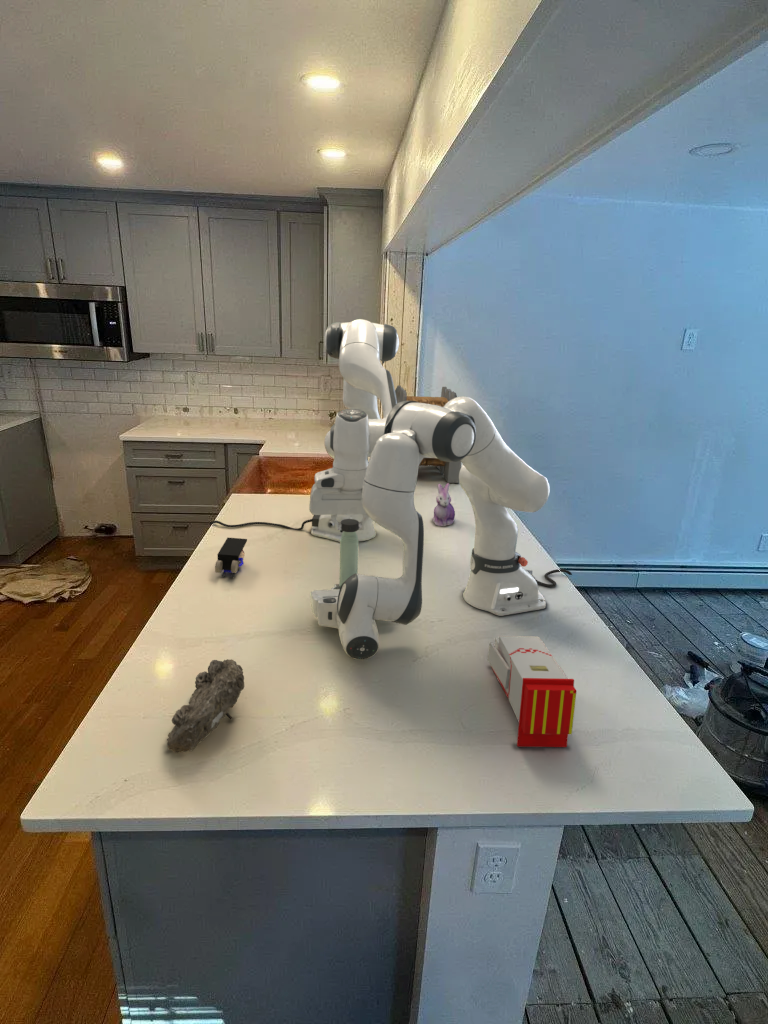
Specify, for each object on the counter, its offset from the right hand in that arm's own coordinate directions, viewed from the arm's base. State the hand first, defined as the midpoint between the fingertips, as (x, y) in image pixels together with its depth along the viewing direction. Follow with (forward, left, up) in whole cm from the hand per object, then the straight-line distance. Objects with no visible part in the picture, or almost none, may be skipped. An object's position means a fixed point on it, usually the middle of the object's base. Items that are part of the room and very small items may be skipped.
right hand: (347, 585), depth 150 cm
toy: (-32, +43, -5) cm, 54 cm away
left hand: (0, +1, +16) cm, 16 cm away
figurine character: (+32, -23, -5) cm, 40 cm away
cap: (0, +1, +18) cm, 18 cm away
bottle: (0, +1, -5) cm, 5 cm away
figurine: (-42, -58, -5) cm, 72 cm away
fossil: (+30, +41, -5) cm, 52 cm away
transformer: (-48, -124, -5) cm, 134 cm away
